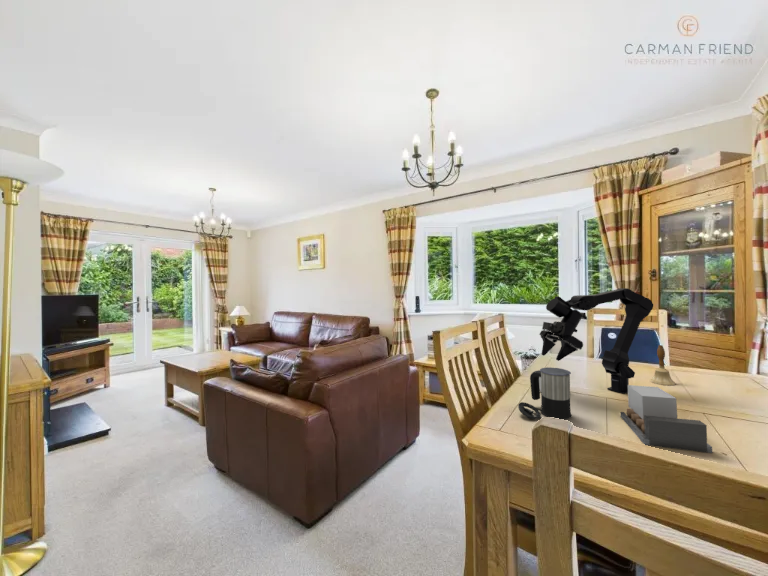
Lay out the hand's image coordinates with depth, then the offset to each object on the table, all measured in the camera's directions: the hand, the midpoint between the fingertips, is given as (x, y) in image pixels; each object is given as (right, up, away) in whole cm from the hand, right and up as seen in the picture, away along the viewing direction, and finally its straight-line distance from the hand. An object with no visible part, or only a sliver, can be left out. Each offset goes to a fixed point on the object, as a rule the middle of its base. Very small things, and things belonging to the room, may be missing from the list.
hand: (549, 357), depth 125 cm
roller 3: (+15, -14, -33) cm, 39 cm away
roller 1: (+18, -14, -25) cm, 34 cm away
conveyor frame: (+15, -15, -33) cm, 39 cm away
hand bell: (+54, -13, +11) cm, 57 cm away
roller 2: (+16, -14, -29) cm, 36 cm away
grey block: (+17, -11, -27) cm, 34 cm away
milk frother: (-11, -16, -18) cm, 26 cm away
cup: (+3, -15, +4) cm, 16 cm away
